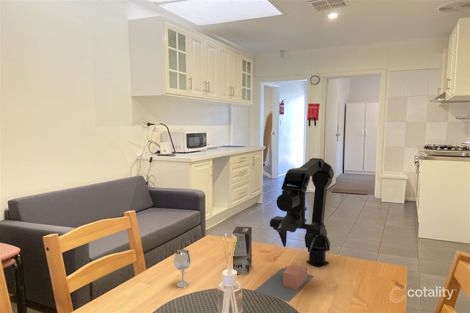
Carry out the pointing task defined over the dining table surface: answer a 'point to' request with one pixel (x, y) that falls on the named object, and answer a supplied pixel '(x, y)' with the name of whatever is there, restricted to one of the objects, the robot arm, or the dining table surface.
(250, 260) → the coffee box
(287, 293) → the mat
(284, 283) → the red block
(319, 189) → the robot arm
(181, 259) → the wineglass
